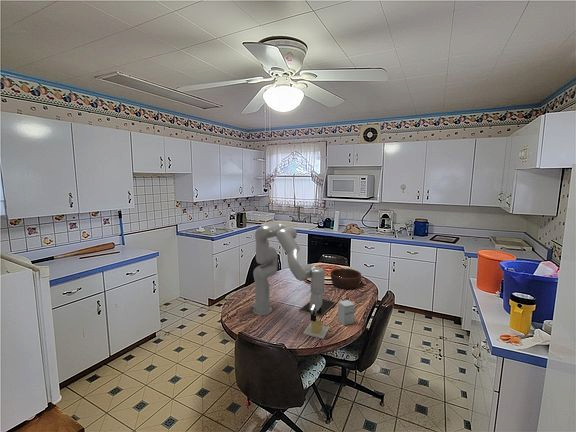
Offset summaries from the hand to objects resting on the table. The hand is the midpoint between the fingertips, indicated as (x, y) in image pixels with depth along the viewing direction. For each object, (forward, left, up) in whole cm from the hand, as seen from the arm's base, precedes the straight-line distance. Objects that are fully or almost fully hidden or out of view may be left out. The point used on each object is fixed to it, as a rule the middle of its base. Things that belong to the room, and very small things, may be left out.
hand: (316, 317), depth 167 cm
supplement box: (+14, +18, -9) cm, 24 cm away
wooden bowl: (0, +78, -9) cm, 79 cm away
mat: (+1, 0, -9) cm, 9 cm away
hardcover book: (-8, +29, -10) cm, 31 cm away
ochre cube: (+1, 0, -8) cm, 8 cm away
